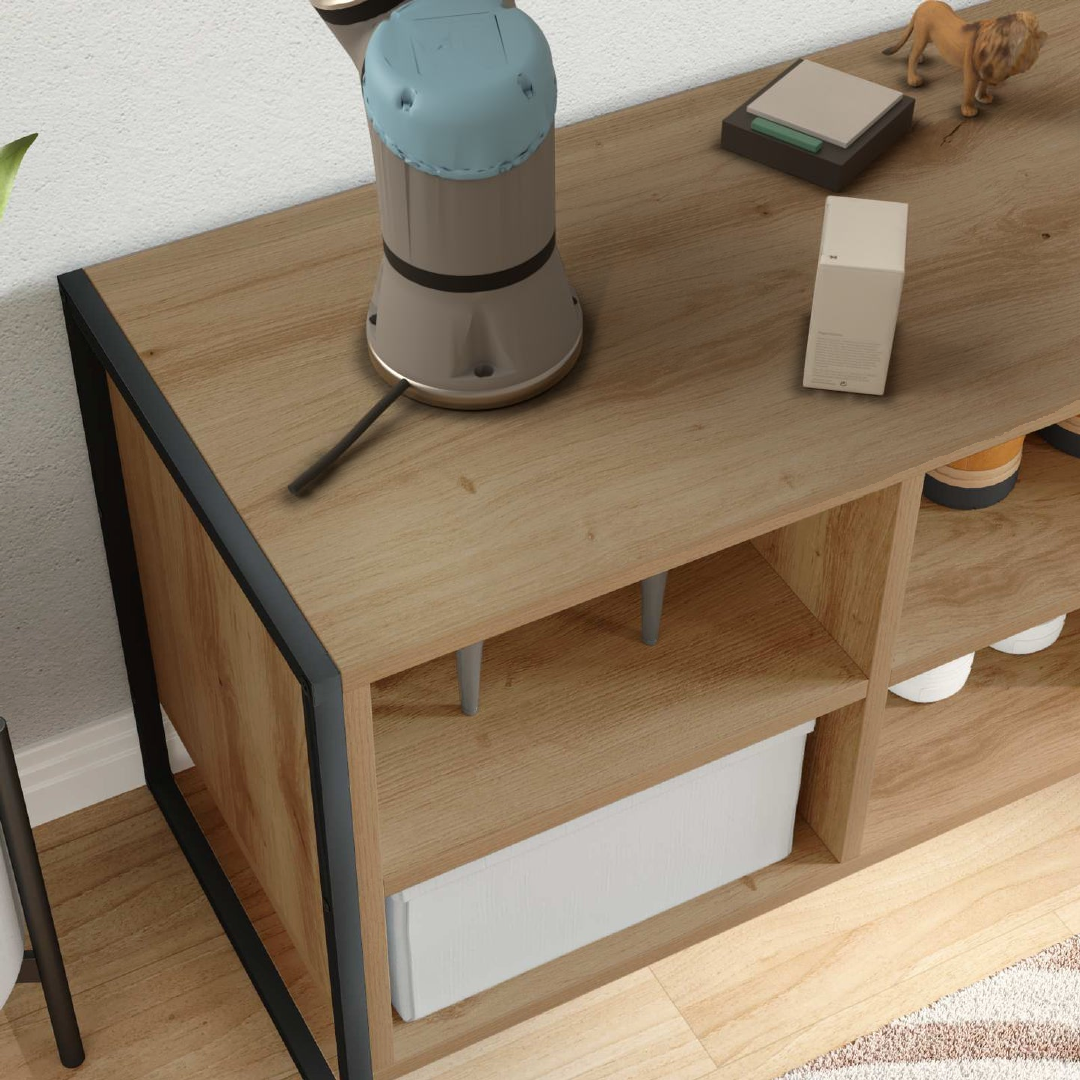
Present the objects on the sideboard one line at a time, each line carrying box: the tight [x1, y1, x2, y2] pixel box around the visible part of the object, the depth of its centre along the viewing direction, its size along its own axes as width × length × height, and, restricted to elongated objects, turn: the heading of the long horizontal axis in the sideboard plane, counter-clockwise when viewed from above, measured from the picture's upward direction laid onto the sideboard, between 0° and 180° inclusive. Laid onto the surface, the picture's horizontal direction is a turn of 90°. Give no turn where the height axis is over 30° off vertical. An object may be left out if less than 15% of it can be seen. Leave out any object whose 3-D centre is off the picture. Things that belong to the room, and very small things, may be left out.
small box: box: [802, 195, 910, 396], centre depth 106 cm, size 8×6×10 cm
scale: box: [719, 58, 917, 193], centre depth 128 cm, size 12×11×3 cm
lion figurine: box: [881, 0, 1049, 118], centre depth 131 cm, size 15×5×9 cm, turn 44°
